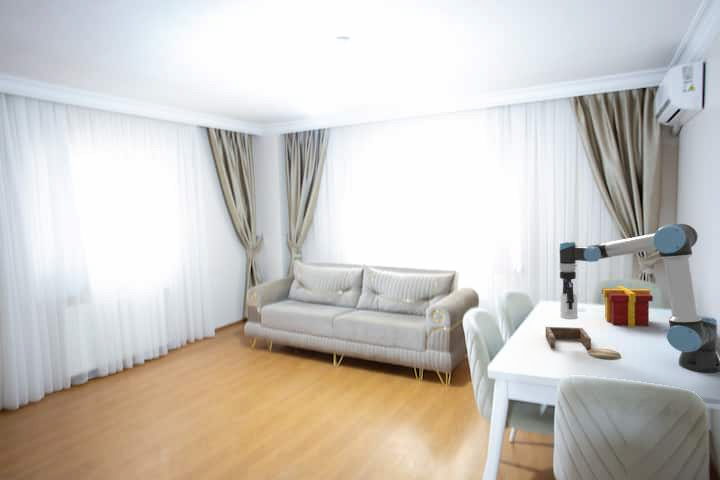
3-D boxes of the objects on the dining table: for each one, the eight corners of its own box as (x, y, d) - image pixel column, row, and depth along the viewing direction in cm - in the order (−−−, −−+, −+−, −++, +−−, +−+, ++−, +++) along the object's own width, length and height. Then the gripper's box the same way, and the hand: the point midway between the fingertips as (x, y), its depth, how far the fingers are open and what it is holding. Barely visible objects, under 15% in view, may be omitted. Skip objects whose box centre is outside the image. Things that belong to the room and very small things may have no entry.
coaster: (624, 360, 210) (624, 358, 210) (591, 358, 214) (591, 356, 214) (615, 350, 223) (615, 349, 223) (585, 349, 227) (585, 347, 227)
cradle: (591, 350, 225) (591, 338, 225) (550, 348, 231) (550, 337, 230) (582, 338, 245) (582, 327, 245) (545, 337, 250) (545, 326, 250)
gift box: (641, 317, 284) (642, 286, 282) (656, 328, 260) (656, 293, 258) (598, 316, 291) (598, 286, 289) (609, 326, 267) (609, 293, 265)
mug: (571, 322, 227) (570, 299, 225) (554, 319, 233) (554, 296, 232) (580, 316, 234) (580, 294, 233) (564, 314, 241) (564, 292, 240)
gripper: (580, 274, 220) (580, 318, 222) (571, 268, 242) (571, 308, 243) (563, 274, 222) (564, 317, 224) (556, 268, 244) (557, 307, 245)
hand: (568, 312), depth 234 cm, fingers closed on mug, 10 cm apart
